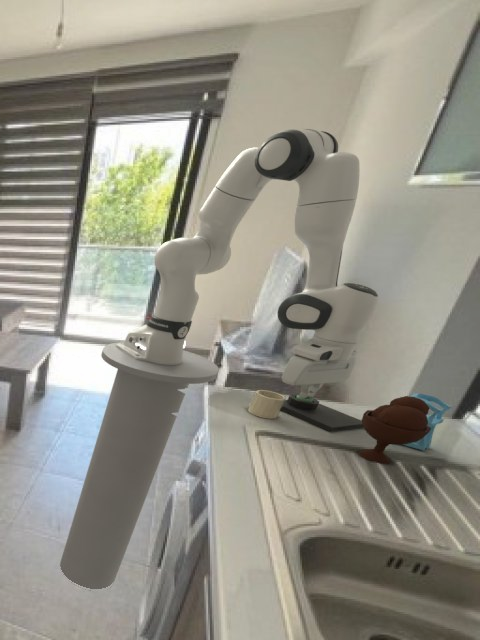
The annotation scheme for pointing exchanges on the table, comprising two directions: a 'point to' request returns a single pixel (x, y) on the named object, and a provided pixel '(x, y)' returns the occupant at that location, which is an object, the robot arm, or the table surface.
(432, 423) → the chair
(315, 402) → the scale
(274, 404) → the cream bowl
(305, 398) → the tare button
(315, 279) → the robot arm
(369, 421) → the ice cream bowl
